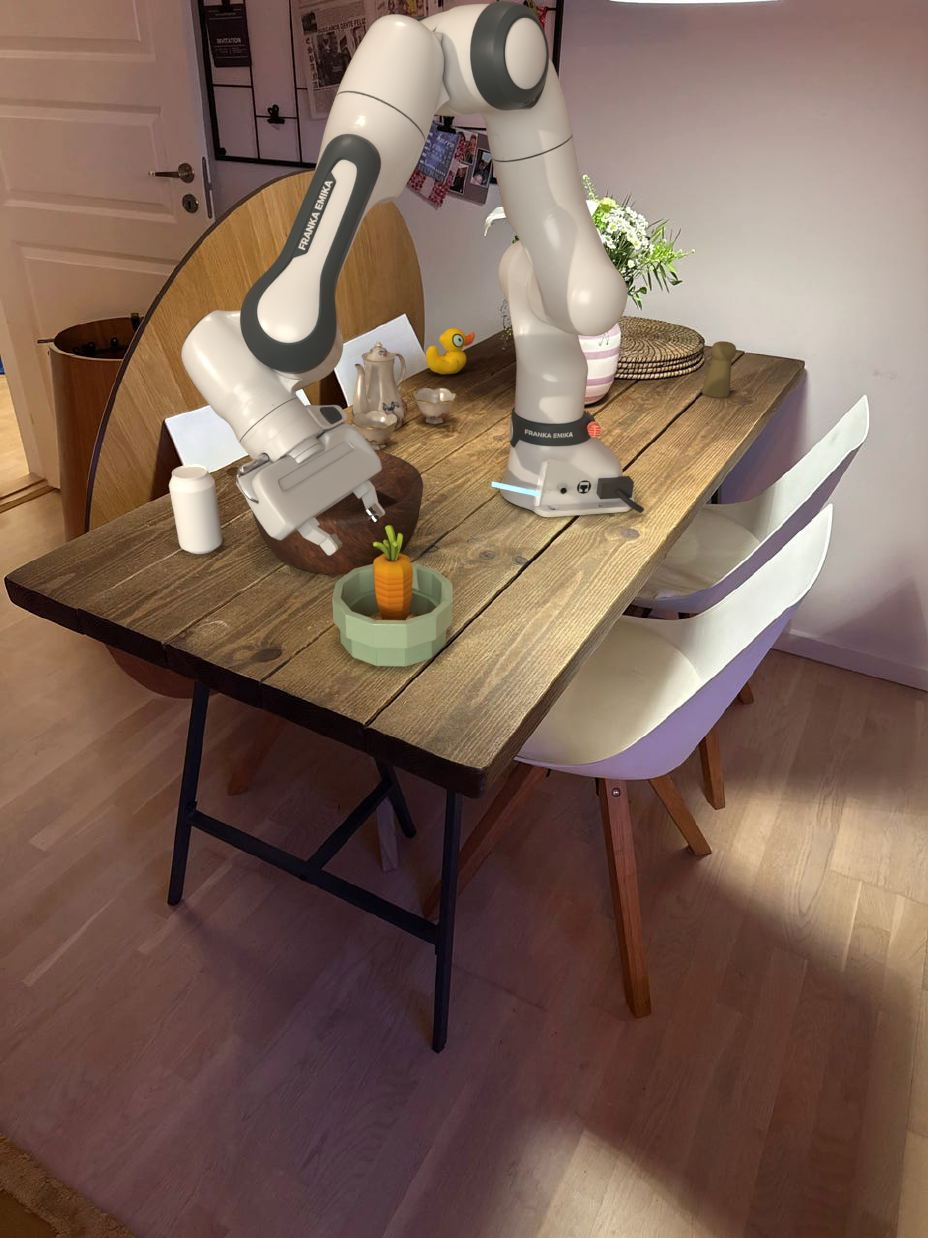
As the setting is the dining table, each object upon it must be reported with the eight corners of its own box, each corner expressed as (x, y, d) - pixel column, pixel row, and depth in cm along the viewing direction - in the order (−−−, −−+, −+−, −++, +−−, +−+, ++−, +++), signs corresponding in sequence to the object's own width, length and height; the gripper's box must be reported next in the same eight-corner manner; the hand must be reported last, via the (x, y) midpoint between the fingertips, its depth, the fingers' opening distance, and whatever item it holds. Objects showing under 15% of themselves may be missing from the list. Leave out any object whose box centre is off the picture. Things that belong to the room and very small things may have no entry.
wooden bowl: (401, 596, 118) (400, 528, 113) (227, 575, 122) (217, 508, 116) (438, 514, 139) (438, 454, 133) (288, 498, 142) (282, 439, 136)
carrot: (408, 649, 108) (407, 543, 100) (369, 643, 109) (365, 537, 101) (417, 627, 112) (417, 523, 104) (380, 622, 113) (377, 518, 105)
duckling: (468, 367, 202) (470, 323, 196) (477, 374, 198) (479, 329, 192) (422, 371, 198) (422, 326, 193) (430, 379, 194) (430, 333, 189)
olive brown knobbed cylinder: (700, 387, 195) (709, 337, 189) (727, 389, 194) (737, 339, 188) (702, 396, 190) (712, 345, 184) (730, 398, 189) (741, 347, 183)
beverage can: (230, 539, 130) (220, 464, 123) (212, 559, 125) (200, 482, 118) (192, 534, 131) (179, 460, 124) (172, 554, 126) (158, 477, 119)
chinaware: (381, 469, 156) (387, 381, 147) (309, 439, 162) (310, 352, 153) (463, 423, 176) (473, 342, 167) (396, 398, 183) (402, 319, 173)
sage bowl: (451, 605, 117) (452, 562, 113) (451, 671, 105) (452, 625, 101) (342, 603, 116) (340, 560, 113) (329, 669, 104) (326, 623, 101)
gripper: (241, 457, 93) (323, 560, 95) (347, 401, 109) (416, 490, 110) (214, 486, 97) (292, 584, 99) (320, 428, 113) (386, 513, 114)
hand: (358, 534), depth 105 cm, fingers open, 8 cm apart
